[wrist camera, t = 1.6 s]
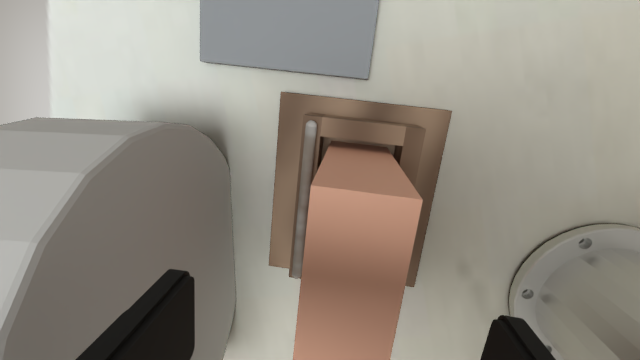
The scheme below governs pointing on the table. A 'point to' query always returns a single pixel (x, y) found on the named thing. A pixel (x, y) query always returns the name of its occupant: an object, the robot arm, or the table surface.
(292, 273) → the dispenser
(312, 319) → the salmon pink tall block
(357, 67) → the mat
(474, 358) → the table surface
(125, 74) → the table surface
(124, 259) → the alarm clock
